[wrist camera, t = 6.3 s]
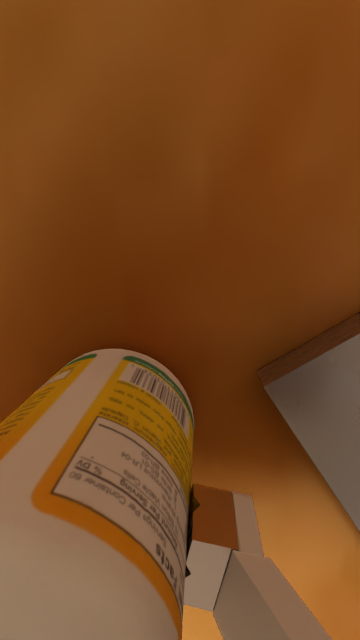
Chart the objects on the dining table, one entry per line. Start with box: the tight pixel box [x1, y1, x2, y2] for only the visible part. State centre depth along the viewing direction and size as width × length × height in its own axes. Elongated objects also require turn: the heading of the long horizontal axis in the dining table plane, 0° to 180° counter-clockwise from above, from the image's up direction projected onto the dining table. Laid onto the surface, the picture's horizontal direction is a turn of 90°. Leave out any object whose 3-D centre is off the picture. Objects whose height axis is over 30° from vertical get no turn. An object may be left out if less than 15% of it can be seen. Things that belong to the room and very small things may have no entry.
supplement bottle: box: [0, 349, 194, 640], centre depth 7 cm, size 5×5×10 cm
